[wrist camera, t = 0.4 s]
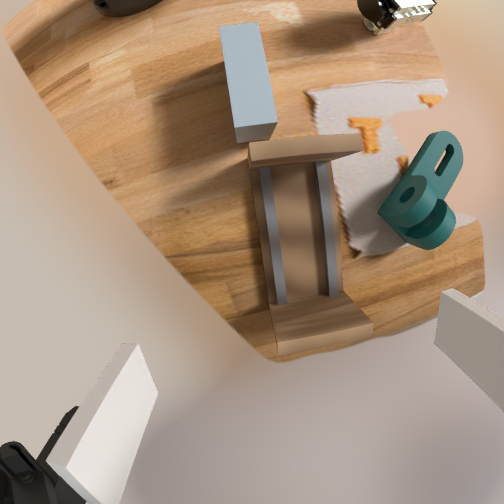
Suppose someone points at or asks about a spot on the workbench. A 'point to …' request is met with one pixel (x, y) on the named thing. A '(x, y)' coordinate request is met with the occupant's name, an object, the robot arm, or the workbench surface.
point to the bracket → (426, 193)
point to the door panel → (248, 82)
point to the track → (304, 241)
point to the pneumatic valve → (393, 13)
